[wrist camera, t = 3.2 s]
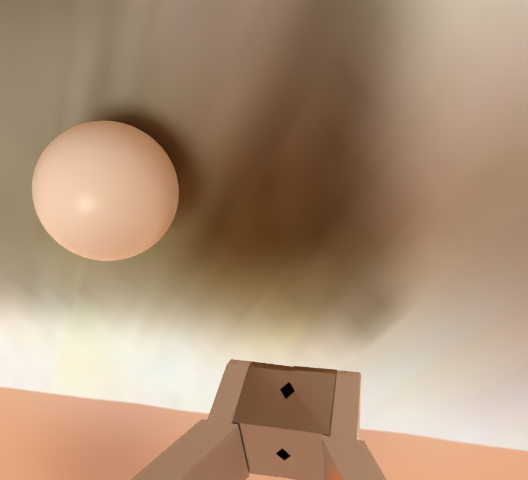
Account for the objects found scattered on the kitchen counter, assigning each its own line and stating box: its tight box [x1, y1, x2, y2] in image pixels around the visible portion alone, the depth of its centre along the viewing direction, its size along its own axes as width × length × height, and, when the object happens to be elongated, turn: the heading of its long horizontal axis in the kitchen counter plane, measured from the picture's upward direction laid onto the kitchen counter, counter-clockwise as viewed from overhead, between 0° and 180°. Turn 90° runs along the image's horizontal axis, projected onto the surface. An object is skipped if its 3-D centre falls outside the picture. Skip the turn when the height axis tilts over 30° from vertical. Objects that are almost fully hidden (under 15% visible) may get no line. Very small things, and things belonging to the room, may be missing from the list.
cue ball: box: [32, 120, 179, 261], centre depth 19 cm, size 6×6×6 cm
